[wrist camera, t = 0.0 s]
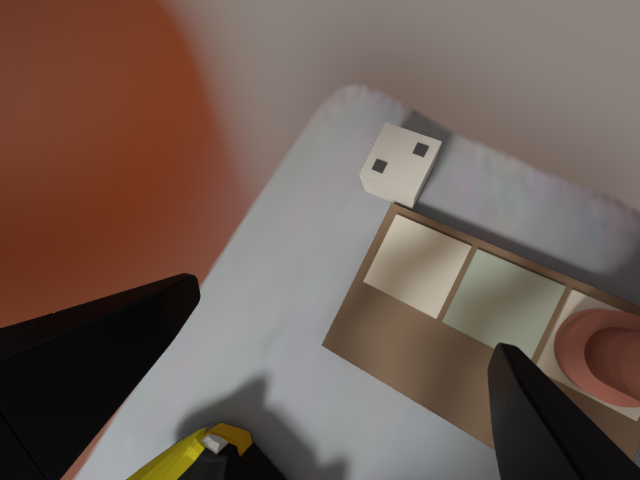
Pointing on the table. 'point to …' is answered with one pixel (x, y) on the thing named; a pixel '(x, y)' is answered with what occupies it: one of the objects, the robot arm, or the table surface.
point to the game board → (462, 322)
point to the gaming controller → (211, 458)
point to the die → (399, 165)
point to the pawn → (602, 354)
